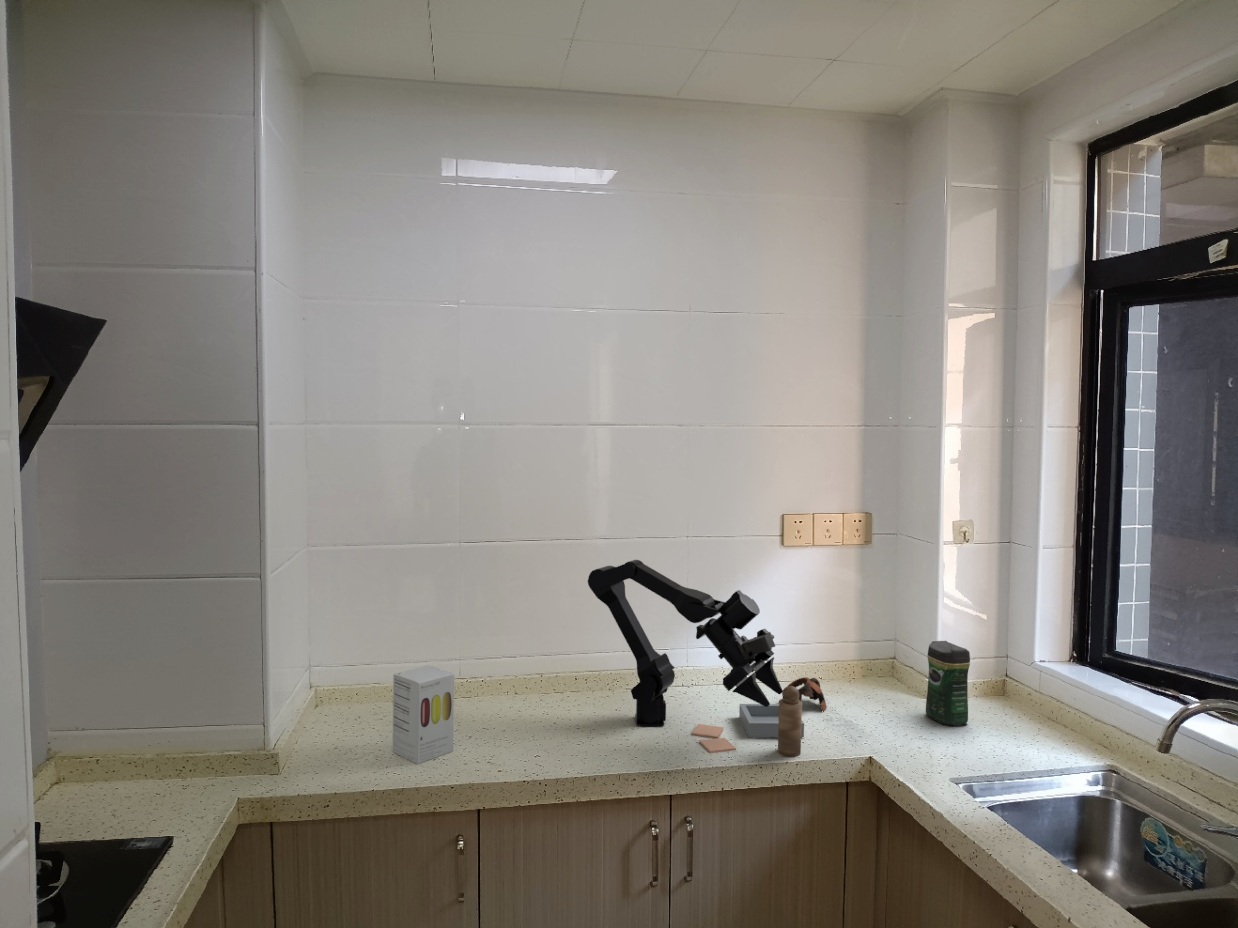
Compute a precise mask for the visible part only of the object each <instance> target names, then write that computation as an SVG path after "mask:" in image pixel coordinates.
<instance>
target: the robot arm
mask: <svg viewBox="0 0 1238 928" xmlns="http://www.w3.org/2000/svg"><path fill="white" fill-rule="evenodd" d="M628 579H631V580H632V581H633V582H635V583H636V584H639V585H640V586H642V587H644V588H646V589H647V590H648V591H651V592H652V593H654V594H656V595H657V596H659V597H660V598H663V599H664V600H666V601H667V602H668V603H670V604H671V605H673V607H674V608H675V609H676V611H677V612H678V613H679V614H680V615H681V616H682V617H684V618H685V619H686V620H687V621H689V622H690V623H693V624H698V623H701V622H703V621H705V620H707V619H709V620H708V621H707V622H705V624H699V625H697V626H696V627H695V628H696V634H695V638H696V640H699V639H701V638H702V637H706V638H707V639H708V640H709V642H710V643H712V645H713V646H714V647H715V649H716V650H717V651H718V653H719V654H718V656H717V657H718V658H719V659H720V660H722V659H724V660H725V661H726V662H727V663H728V665H729V666H730V667H731V668H732V669H730V672H728V673H727V675H725V676H724V677H723V678H722V686H724V688H725V689H726V690H727V692H730V691H731V690H732V693H736V694H738V695H741V696H743V697H745V698H747V699H749V700H752V701H753V702H755V703H756V704H761V705H763V706H765V707H767V706H769V705H770V704H771V703H770V701H769V699H768V698H767V696H766V695H765V692H763V690H762V688H761V686H760V685H759V684H758V683H757V680H758V681H759V682H761V683H762V684H764V685H765V686H766V687H767V688H769V689H770V690H772V691H773V692H775V693H776V694H778V695H781V694H782V692H783V690H784V689H783V688H782V686H781V684H780V683H781V682H780V681H779V679H778V677H777V674H776V672H775V669H774V660H775V657H774V654H775V653H774V651H773V650H772V649H773V648H775V647H776V644H775V642H774V639H775V635H774V634H772V632H771V631H768V630H767V629H766V628H762V629H760V630H758V631H757V632H756V636H755V637H752V638H750V639H749V638H748V637H746V636H745V635H741V636H740V634H738V633H737V631H735V629H737V630H743V629H744V628H745V627H746V626H747V625H748V624H749V623H751V621H753V619H755V618H756V617H757V616H758V615H759V614H760V608H759V605H758V604H757V602H756V600H754V599H753V598H751V597H750V596H749V595H747V594H744V593H743V592H742V590H740V589H738V590H736V591H735V592H734V593H732V595H731V596H730V597H729V598H728V599H727V600H726V601H721V600H719V599H715V598H713V596H711V595H710V594H709V593H706V592H703V591H701V590H698V589H694V588H689V587H685V586H683V585H681V584H679V583H678V582H675V581H674V580H672V579H670V578H669V577H667V576H665V575H663V574H662V573H661V572H658V571H656V570H655V569H653V568H651V567H650V566H649V565H647V564H645V563H644V562H643V561H641V560H639V559H633V560H629V561H627V562H625V563H623V564H621V565H618V566H613V565H605V566H602V567H599V568H596V569H593V570H592V571H590V573H589V574H588V578H587V584H588V587H589V589H590V590H591V592H592V593H593V594H594V595H595V597H596V598H597V599H598V600H600V602H601V603H602V604H604V605H605V606H606V607H608V609H609V611H610V613H611V615H612V617H613V619H614V621H615V623H616V625H617V626H618V628H619V630H620V632H621V633H622V636H623V638H624V640H625V642H626V643H627V646H628V647H629V649H630V651H631V653H632V655H633V657H634V659H635V661H636V672H637V673H636V674H637V677H638V681H639V682H638V683H637V684H636V685H635V686H634V687H632V688H631V690H630V693H631V695H632V699H633V700H635V714H634V719H635V725H636V726H637V727H664V726H665V721H666V720H667V719H666V717H667V701H666V699H665V698H664V694H666V693H667V691H668V690H669V687H670V686H672V685H673V683H674V682H675V677H676V676H675V671H674V669H675V666H674V665H673V664H672V663H671V661H670V659H669V656H668V654H667V653H666V652H664V653H662V654H660V653H658V651H656V650H655V649H654V647H653V646H652V644H651V641H650V640H649V638H648V635H647V634H646V632H645V630H644V629H643V627H642V625H641V623H640V621H639V619H638V617H637V616H636V614H635V612H634V610H633V608H632V606H631V604H630V602H629V601H628V599H627V596H626V585H625V581H626V580H628ZM717 615H720V616H719V617H718V618H713V617H715V616H717ZM772 656H773V657H772ZM771 657H772V658H771Z"/></svg>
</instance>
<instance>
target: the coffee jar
mask: <svg viewBox="0 0 1238 928" xmlns="http://www.w3.org/2000/svg"><path fill="white" fill-rule="evenodd" d="M970 654H971V653H970V650H968V649H967V648H966V647H961V646H959V645H956V644H955V643H951V642H948V641H947V640H934V641H931V643H929V645H928V650H927V663H928V679H927V690H926V691H927V692H926V701H925V714H926V716H928V717H929V718H931V719H932V720H934V721H936V722H938V723H940V724H943V725H951V726H952V725H953V726H962V725H964V724H967V723H968V722H969V702H968V701H969V697H968V695H969V694H968V693H969V692H968V691H969V689H968V681H969V680H968V675H969V669H970V666H971V655H970Z"/></svg>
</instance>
